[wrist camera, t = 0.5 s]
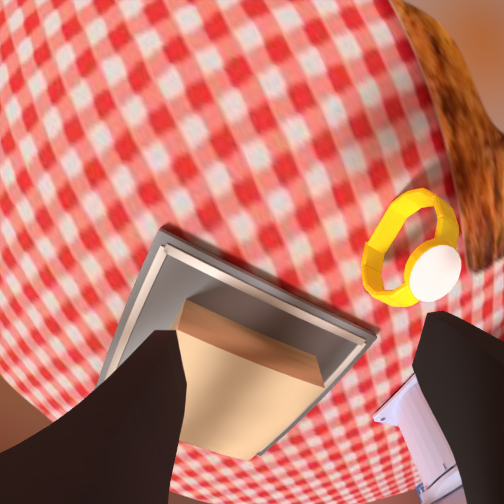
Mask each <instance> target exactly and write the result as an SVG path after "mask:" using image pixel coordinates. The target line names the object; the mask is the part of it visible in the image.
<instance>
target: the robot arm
mask: <svg viewBox="0 0 504 504" xmlns="http://www.w3.org/2000/svg"><path fill="white" fill-rule="evenodd" d="M412 367H413V370H414V373H415V374H414V375H413V376H412V377H411V378H410V379H409V380H408V381H407V382H406V383H405V384H404V385H403V387H402V388H401V389H400V390H399V391H398V392H397V393H396V394H395V395H394V396H393V397H392V398H391V399H390V400H389V401H388V402H387V403H386V404H384V405H383V406H382V407H381V408H380V409H379V410H378V411H377V412H376V413H375V414H374V415H373V419H374V421H377V422H381V423H385V424H390V425H394V426H399V428H400V430H401V432H402V435H403V437H404V439H405V442H406V444H407V446H408V449H409V451H410V453H411V456H412V458H413V461H414V463H415V465H416V468H417V470H418V473H419V475H420V478H421V480H422V483H423V485H424V488H425V490H426V491H425V492H423V493H421V494H420V497H421V499H422V502H423V504H504V342H503V341H501V340H499V339H497V338H496V337H494V336H492V335H490V334H488V333H486V332H485V331H483V330H481V329H479V328H477V327H476V326H474V325H472V324H470V323H468V322H466V321H464V320H462V319H460V318H459V317H456V316H454V315H452V314H450V313H448V312H445V311H438V312H431V313H427V316H426V320H425V323H424V327H423V331H422V334H421V338H420V341H419V345H418V348H417V351H416V354H415V358H414V361H413V364H412ZM186 392H187V381H186V377H185V372H184V367H183V362H182V358H181V353H180V348H179V342H178V337H177V332H176V330H154V331H153V332H152V333H151V334H150V335H149V336H148V337H147V338H146V339H145V340H144V341H143V342H142V343H141V344H140V345H139V346H138V348H137V349H136V350H135V351H134V352H133V353H132V354H131V355H130V356H129V357H128V358H127V359H126V360H125V361H124V362H123V363H122V364H121V365H120V366H119V367H118V368H117V369H116V370H115V371H114V372H113V373H112V374H111V375H110V376H109V377H108V378H107V379H106V380H105V381H104V382H102V383H101V384H100V385H99V386H98V387H97V388H96V389H95V390H94V391H93V392H91V393H90V394H89V395H88V396H87V397H86V398H85V399H84V400H82V401H81V402H80V403H79V404H78V405H76V406H75V407H74V408H72V409H71V410H70V411H69V412H67V413H66V414H65V415H63V416H62V417H60V418H59V419H58V420H56V421H55V422H53V423H52V424H51V425H49V426H47V427H46V428H44V429H43V430H41V431H39V432H38V433H36V434H34V435H33V436H31V437H30V438H28V439H26V440H24V441H23V442H21V443H19V444H17V445H16V446H14V447H12V448H10V449H8V450H6V451H4V452H1V453H0V504H168V495H169V487H170V481H171V476H172V471H173V466H174V461H175V457H176V452H177V447H178V443H179V438H180V433H181V429H182V424H183V419H184V414H185V404H186Z"/></svg>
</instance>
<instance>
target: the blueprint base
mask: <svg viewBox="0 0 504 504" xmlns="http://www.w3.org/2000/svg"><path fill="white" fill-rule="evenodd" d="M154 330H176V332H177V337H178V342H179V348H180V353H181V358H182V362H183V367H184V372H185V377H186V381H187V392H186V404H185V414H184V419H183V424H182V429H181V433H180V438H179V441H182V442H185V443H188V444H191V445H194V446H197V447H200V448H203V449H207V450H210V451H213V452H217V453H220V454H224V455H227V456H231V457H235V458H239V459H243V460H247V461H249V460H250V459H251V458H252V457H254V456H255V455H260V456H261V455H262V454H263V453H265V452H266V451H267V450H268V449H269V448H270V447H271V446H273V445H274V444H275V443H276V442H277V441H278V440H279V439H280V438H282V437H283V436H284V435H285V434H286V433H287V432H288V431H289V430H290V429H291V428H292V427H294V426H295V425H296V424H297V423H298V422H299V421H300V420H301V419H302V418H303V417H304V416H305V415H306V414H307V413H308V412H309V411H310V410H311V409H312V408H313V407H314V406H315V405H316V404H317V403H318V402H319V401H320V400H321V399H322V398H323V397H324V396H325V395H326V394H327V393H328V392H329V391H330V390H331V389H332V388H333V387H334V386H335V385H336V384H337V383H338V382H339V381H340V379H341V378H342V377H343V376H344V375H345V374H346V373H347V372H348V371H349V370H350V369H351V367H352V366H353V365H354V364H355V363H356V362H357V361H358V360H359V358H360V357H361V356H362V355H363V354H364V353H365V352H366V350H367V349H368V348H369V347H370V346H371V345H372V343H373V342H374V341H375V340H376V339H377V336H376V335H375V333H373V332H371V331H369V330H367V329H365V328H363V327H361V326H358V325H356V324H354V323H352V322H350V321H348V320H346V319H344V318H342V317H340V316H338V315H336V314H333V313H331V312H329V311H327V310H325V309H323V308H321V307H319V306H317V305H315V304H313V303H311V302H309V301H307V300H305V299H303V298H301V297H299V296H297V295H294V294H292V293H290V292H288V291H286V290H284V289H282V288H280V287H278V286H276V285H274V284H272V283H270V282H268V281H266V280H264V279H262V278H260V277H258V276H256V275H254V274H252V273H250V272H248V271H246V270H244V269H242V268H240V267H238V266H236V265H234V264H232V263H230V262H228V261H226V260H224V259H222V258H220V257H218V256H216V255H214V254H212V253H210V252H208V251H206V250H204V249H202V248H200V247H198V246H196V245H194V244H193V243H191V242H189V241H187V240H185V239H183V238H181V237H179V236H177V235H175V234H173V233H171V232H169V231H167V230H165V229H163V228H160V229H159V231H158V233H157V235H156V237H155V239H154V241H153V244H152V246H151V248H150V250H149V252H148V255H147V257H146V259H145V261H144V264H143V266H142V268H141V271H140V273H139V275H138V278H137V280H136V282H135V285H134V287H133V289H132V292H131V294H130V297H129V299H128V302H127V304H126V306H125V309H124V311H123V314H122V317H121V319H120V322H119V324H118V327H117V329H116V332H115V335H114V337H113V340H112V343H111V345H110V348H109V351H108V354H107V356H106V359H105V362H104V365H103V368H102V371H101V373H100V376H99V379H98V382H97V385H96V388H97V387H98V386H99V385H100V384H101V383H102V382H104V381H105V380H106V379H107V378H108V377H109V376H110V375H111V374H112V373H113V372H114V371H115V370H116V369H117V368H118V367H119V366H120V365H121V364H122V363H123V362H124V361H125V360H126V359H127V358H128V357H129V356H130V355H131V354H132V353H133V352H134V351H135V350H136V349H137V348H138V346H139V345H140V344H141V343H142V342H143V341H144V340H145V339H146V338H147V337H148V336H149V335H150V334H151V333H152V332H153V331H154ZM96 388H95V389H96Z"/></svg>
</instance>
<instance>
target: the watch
mask: <svg viewBox="0 0 504 504" xmlns="http://www.w3.org/2000/svg"><path fill="white" fill-rule="evenodd" d="M430 206H434V208H435V211H436V215H437V219H438V221H437V227H436V232H435V238H434V239H432V240H429V241H426V242H424V243H422V244H421V245H420V246H418V247H417V248H416V249H415V250H414V251H413V253H412V254H411V255H410V257H409V259H408V261H407V263H406V266H405V271H404V281H405V283H403V284H402V285H400V286H399V287H397V288H396V289H394V290H384V287H383V281H382V276H381V272H382V267H383V261H384V255H385V253H386V252H387V250H388V249H389V247H390V245H391V244H392V242H393V241H394V239H395V237H396V236H397V234H398V232H399V231H400V229H401V227H402V226H403V224H404V222H405V221H406V219H407V217H409V216H410V215H412V214H413V213H415V212H416V211H418V210H419V209H420V208H422V207H430ZM458 229H459V226H458V223H457V220H456V216H455V213H454V210H453V209H452V207H451V206H449V205H448V204H447V203H446V202H445V201H443V200H442V199H441V198H440V197H438V196H437V195H436V194H434V193H433V192H431V191H429V190H427V189H426V188H419V189H414V190H409V191H407V192H404V193H403V194H402V195H401V196H399V197H398V198H397V199H395V200H394V201H393V202H391V203H390V205H389V207H388V209H387V211H386V212H385V214H384V216H383V217H382V219H381V221H380V223H379V224H378V226H377V228H376V229H375V231H374V233H373V234H372V236H371V237H370V239H369V241H368V242H366V243H365V244H366V245H365V248H364V253H363V257H362V262H361V272H362V280H363V285H364V288H365V289H366V290H367V291H368V292H369V293H370V294H371V295H372V296H373V297H374V298H376V299H378V300H380V301H382V302H384V303H386V304H388V305H391V306H400V307H408V306H410V305H411V306H412V305H413V304H415V303H417V302H418V301H420V300H421V301H424V302H430V301H435V300H437V299H440V298H442V297H443V296H444V295H446V294H447V293H448V292H449V291H450V290H451V289H452V288H453V287H454V285H455V283H456V281H457V280H458V278H459V274H460V271H461V258H460V255H459V252H458V251H457V250H456V248H457V242H458V235H459V230H458Z"/></svg>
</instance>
